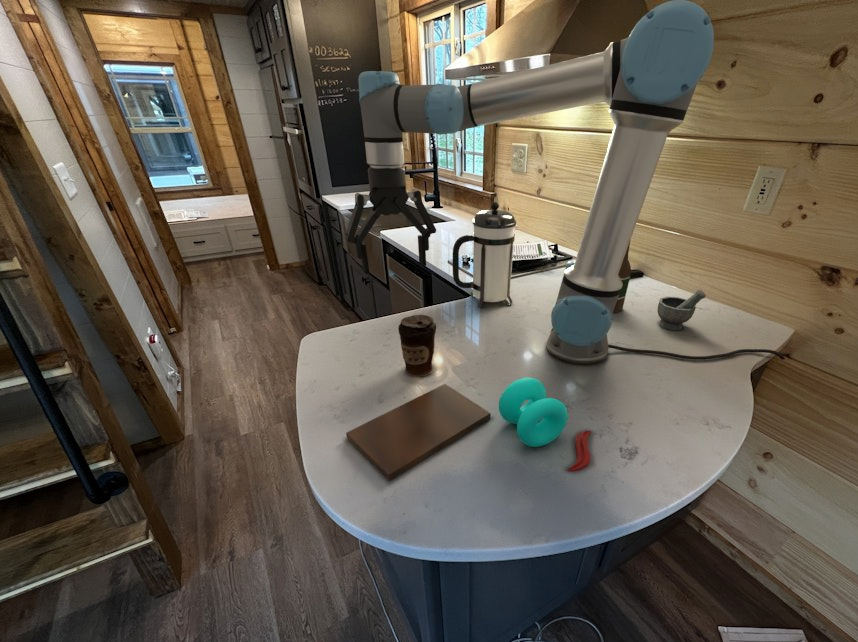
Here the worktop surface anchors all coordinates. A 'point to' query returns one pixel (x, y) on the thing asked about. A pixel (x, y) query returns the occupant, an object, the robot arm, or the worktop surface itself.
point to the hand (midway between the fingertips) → (395, 268)
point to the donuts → (533, 412)
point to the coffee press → (489, 255)
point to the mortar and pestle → (677, 310)
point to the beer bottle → (623, 281)
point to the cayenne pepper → (581, 451)
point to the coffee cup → (418, 344)
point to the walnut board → (416, 430)
